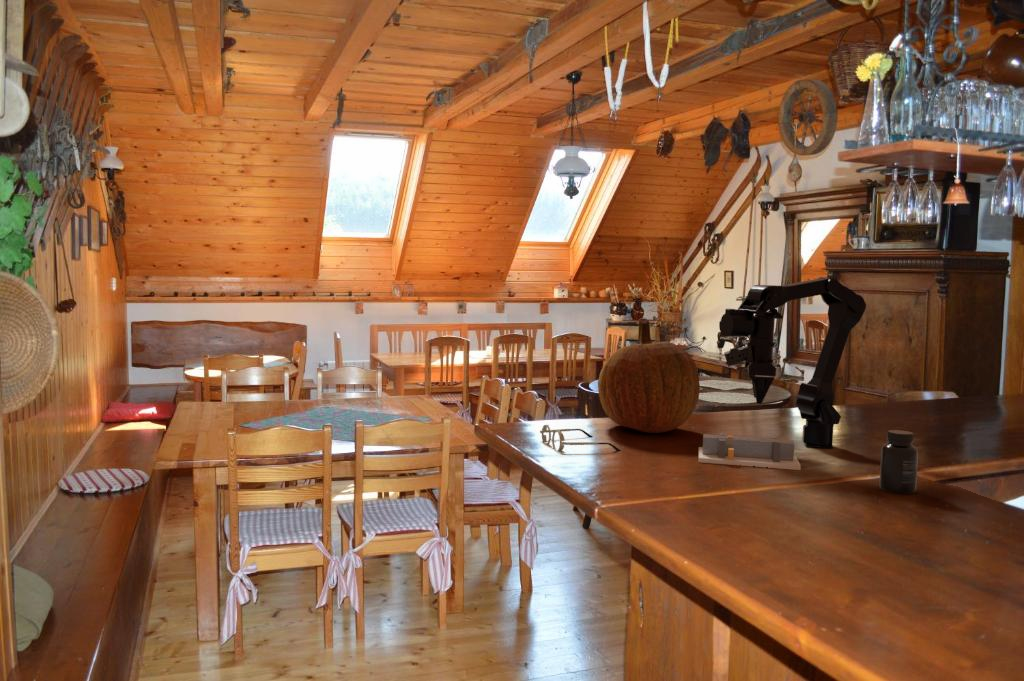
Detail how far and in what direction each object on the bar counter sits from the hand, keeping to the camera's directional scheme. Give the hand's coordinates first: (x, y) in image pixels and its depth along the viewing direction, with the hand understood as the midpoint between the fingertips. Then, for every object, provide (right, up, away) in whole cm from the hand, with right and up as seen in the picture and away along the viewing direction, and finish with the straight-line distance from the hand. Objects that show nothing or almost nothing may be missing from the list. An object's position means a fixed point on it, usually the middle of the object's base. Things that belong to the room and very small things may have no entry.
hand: (757, 400), depth 203 cm
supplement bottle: (+18, -16, -34) cm, 42 cm away
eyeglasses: (-44, -12, +1) cm, 45 cm away
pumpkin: (-25, -10, +21) cm, 34 cm away
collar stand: (-6, -13, -11) cm, 18 cm away
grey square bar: (-6, -12, -11) cm, 17 cm away
